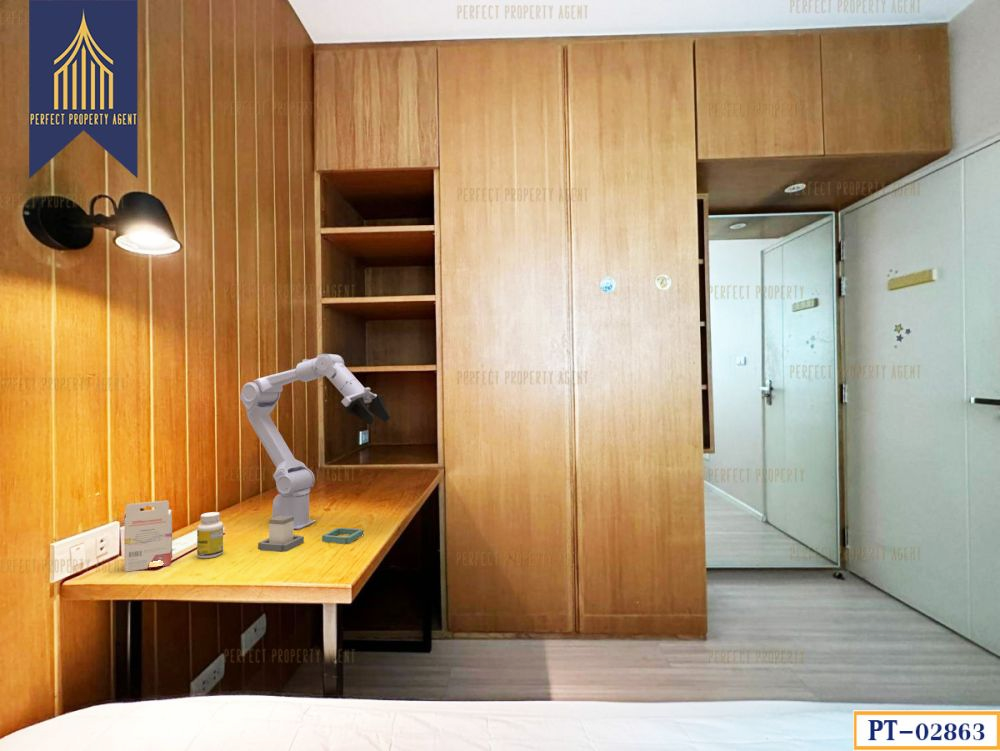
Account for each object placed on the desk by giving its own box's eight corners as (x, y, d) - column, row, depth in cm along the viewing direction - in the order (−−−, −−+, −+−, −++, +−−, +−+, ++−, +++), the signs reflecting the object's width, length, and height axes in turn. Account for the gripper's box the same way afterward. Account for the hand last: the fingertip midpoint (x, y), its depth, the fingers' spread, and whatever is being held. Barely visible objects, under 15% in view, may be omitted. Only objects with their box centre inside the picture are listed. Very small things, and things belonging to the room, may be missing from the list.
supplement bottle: (192, 556, 121) (192, 514, 121) (216, 549, 125) (216, 510, 125) (204, 560, 118) (204, 518, 118) (227, 554, 122) (227, 513, 122)
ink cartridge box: (172, 559, 119) (173, 495, 119) (170, 566, 114) (170, 500, 114) (127, 565, 115) (128, 499, 115) (123, 572, 110) (123, 504, 110)
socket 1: (256, 549, 125) (256, 543, 125) (278, 539, 133) (278, 533, 133) (284, 551, 123) (284, 545, 123) (304, 541, 131) (305, 536, 131)
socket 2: (320, 541, 131) (320, 536, 131) (337, 532, 139) (337, 527, 139) (348, 544, 129) (348, 538, 129) (364, 534, 137) (364, 529, 137)
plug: (268, 547, 127) (269, 519, 127) (279, 542, 131) (279, 515, 131) (283, 548, 126) (283, 520, 126) (293, 543, 130) (293, 516, 130)
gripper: (341, 376, 134) (374, 413, 131) (372, 376, 148) (402, 408, 145) (326, 395, 136) (358, 432, 132) (358, 393, 149) (387, 426, 146)
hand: (380, 421), depth 139 cm, fingers open, 7 cm apart
